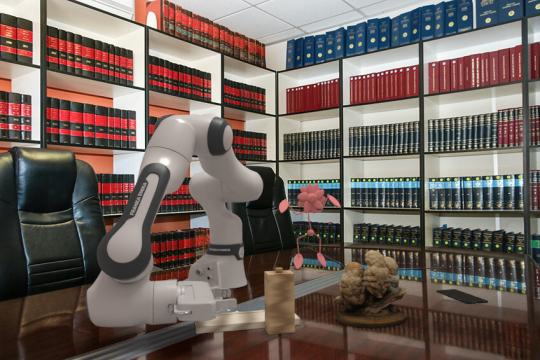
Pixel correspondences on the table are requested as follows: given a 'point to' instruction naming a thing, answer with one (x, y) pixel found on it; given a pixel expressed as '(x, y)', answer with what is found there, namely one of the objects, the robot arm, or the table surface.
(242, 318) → the board
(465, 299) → the smartphone
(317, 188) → the figurine
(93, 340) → the table surface
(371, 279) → the carved stone sculpture
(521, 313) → the table surface
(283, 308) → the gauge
